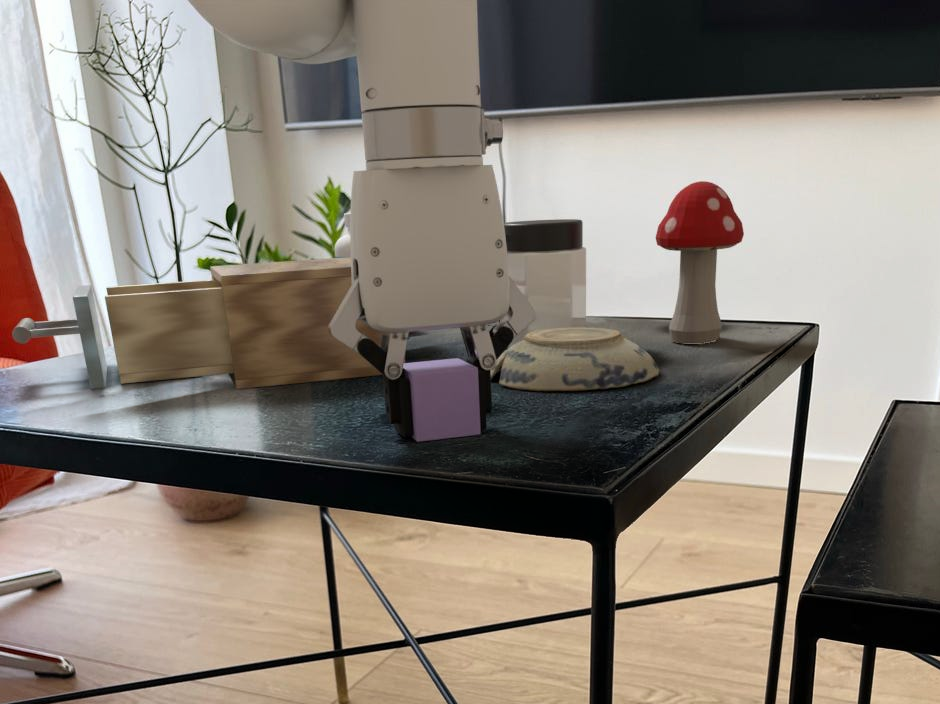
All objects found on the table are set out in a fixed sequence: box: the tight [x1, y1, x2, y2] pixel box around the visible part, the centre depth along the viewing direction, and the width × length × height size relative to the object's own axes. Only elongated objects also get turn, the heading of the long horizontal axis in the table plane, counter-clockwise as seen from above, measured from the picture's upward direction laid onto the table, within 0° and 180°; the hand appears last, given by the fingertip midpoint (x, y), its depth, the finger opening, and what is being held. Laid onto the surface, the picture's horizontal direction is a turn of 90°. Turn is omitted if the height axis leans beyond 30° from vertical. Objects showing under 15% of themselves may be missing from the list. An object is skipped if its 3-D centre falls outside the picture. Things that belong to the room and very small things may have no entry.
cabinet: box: [209, 257, 406, 390], centre depth 96 cm, size 16×13×10 cm
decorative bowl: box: [490, 326, 660, 392], centre depth 89 cm, size 15×4×15 cm
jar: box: [499, 218, 587, 350], centre depth 103 cm, size 9×8×12 cm
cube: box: [403, 357, 482, 443], centre depth 71 cm, size 5×5×5 cm
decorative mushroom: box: [655, 180, 745, 344], centre depth 102 cm, size 10×9×15 cm
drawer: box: [11, 279, 234, 390], centre depth 92 cm, size 20×11×8 cm, turn 108°
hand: (439, 426), depth 72 cm, fingers closed on cube, 4 cm apart
